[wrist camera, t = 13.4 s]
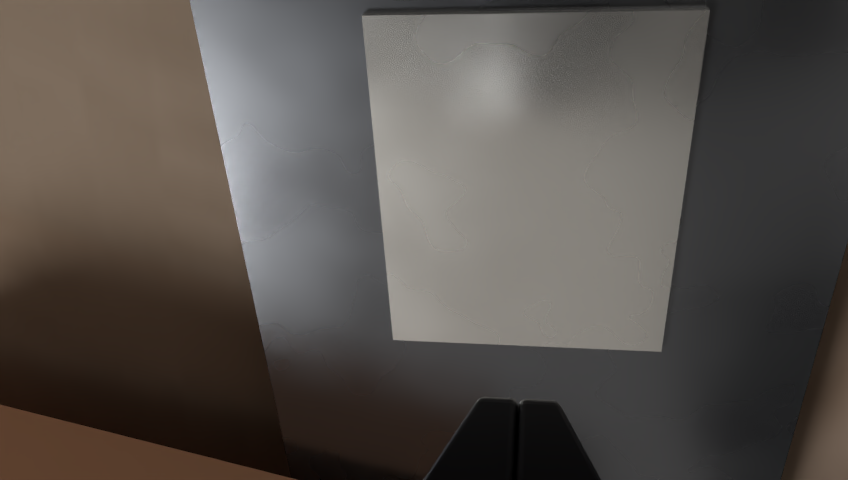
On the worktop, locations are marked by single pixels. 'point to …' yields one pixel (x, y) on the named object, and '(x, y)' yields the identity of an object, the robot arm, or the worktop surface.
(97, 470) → the swing bar
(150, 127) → the worktop surface
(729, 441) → the label plate
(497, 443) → the robot arm
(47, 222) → the worktop surface
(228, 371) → the worktop surface
